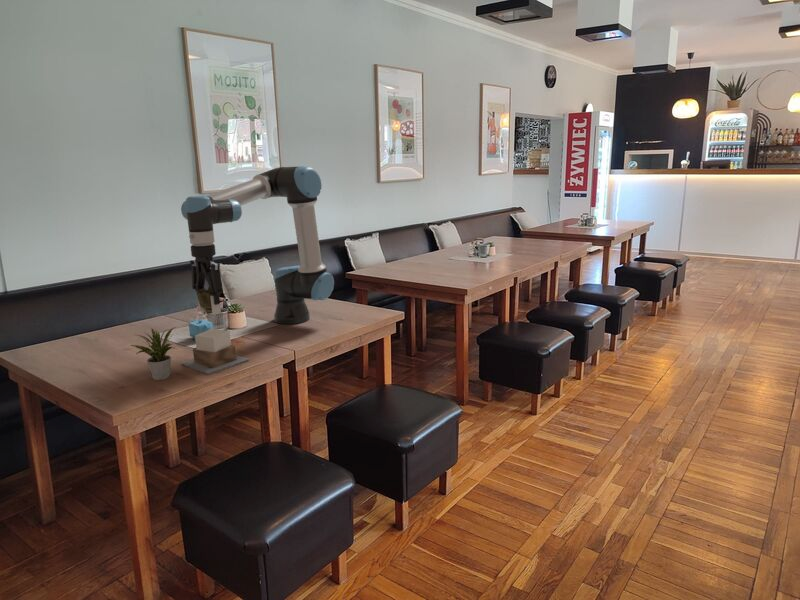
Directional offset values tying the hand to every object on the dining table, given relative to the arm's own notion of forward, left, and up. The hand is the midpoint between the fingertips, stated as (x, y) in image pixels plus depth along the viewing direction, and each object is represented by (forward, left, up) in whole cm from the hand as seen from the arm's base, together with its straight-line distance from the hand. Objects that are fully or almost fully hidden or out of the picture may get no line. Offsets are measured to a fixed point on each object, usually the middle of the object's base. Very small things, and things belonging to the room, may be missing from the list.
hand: (209, 311), depth 189 cm
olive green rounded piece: (0, 0, 0) cm, 0 cm away
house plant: (+17, -4, -18) cm, 25 cm away
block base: (0, 0, -18) cm, 18 cm away
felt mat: (0, 0, -18) cm, 18 cm away
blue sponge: (-13, -30, -18) cm, 38 cm away
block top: (0, 0, -13) cm, 13 cm away
